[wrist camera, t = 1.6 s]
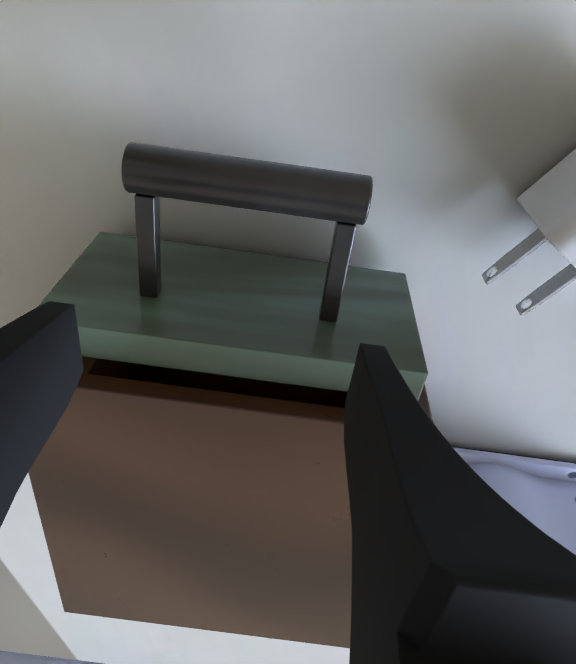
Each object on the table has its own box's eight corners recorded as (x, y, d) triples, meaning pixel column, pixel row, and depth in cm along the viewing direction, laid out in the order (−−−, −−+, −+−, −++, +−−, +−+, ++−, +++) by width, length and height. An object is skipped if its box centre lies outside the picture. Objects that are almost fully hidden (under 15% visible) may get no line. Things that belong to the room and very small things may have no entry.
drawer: (87, 99, 18) (-8, 155, 13) (440, 149, 18) (482, 223, 13) (122, 457, 29) (77, 564, 24) (344, 487, 29) (347, 599, 24)
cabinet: (96, 257, 23) (3, 377, 16) (407, 299, 23) (437, 435, 16) (119, 475, 31) (64, 612, 24) (346, 505, 31) (350, 648, 25)
